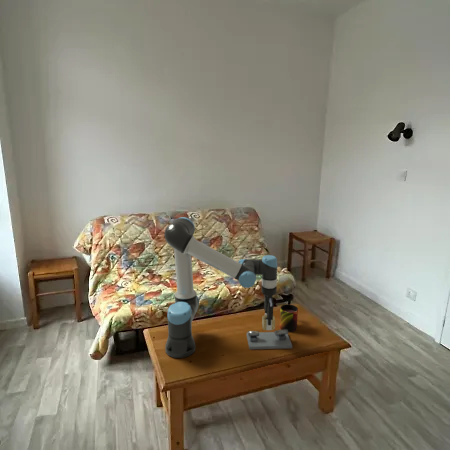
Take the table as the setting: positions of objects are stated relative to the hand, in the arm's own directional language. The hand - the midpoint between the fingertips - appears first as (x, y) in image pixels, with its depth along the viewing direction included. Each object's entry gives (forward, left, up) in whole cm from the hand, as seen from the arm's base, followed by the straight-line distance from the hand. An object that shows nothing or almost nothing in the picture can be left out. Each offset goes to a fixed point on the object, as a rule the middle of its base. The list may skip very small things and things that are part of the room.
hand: (268, 327), depth 179 cm
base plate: (+1, 0, -8) cm, 8 cm away
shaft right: (+7, +1, -7) cm, 10 cm away
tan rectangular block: (0, 0, 0) cm, 0 cm away
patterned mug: (+14, +16, -9) cm, 22 cm away
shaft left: (-8, 0, -7) cm, 10 cm away
